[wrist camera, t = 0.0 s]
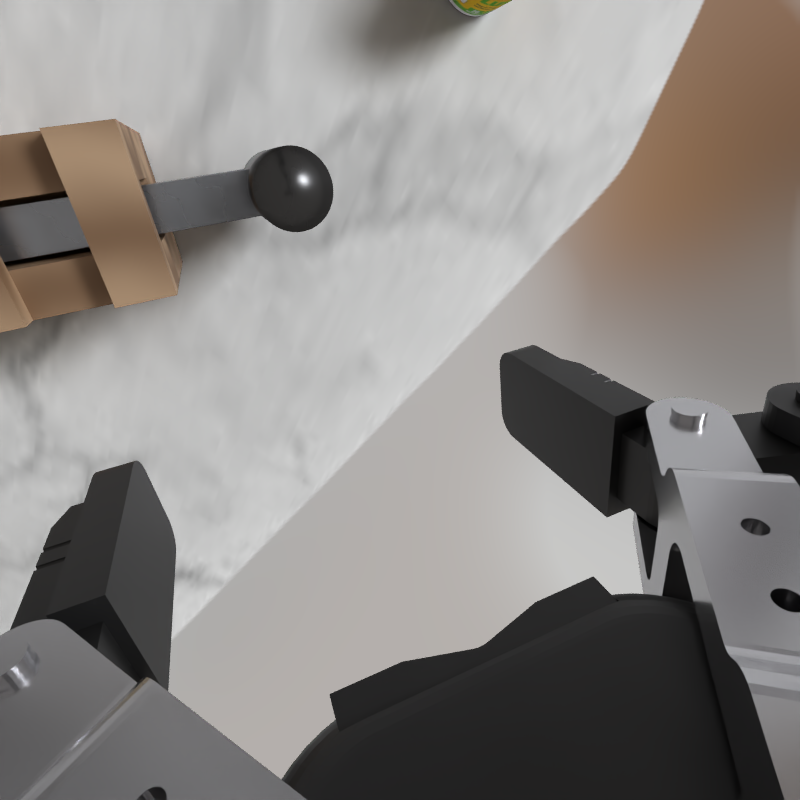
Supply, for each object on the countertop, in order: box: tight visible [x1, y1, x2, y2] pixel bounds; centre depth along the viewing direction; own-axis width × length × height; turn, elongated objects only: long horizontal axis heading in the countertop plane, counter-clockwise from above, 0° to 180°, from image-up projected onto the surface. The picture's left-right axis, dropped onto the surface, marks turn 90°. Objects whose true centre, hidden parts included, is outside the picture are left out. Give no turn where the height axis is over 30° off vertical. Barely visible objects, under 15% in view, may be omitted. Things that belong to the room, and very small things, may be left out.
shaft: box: [0, 146, 333, 262], centre depth 25 cm, size 4×25×7 cm, turn 98°
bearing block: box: [0, 119, 183, 332], centre depth 27 cm, size 8×10×11 cm
